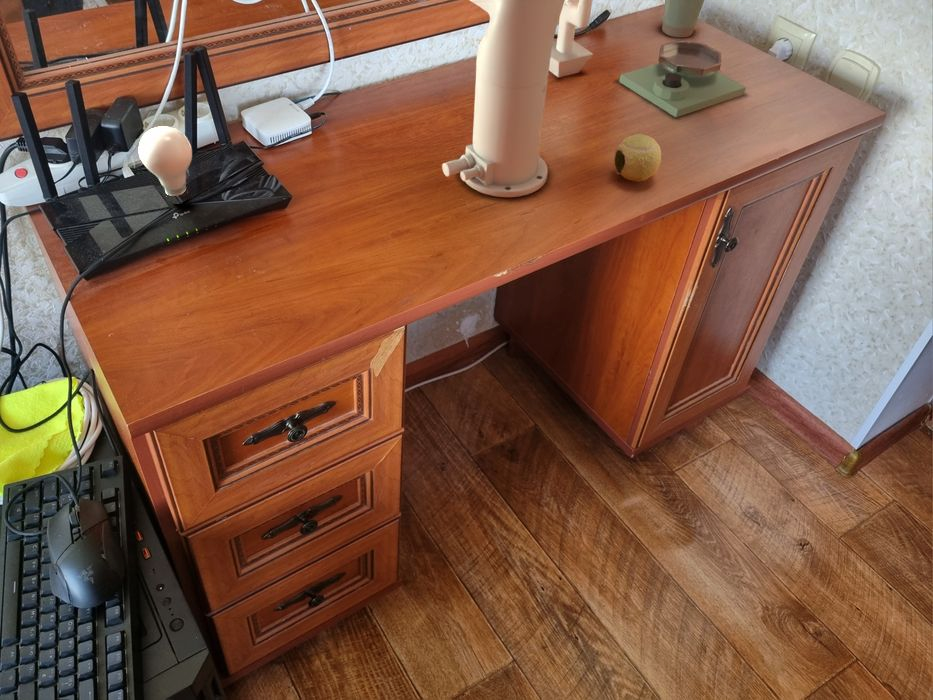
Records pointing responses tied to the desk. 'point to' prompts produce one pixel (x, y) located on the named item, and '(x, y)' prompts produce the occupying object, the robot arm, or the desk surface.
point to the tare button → (672, 80)
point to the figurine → (570, 39)
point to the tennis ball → (637, 157)
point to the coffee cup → (681, 17)
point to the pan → (689, 59)
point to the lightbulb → (167, 157)
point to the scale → (681, 89)
